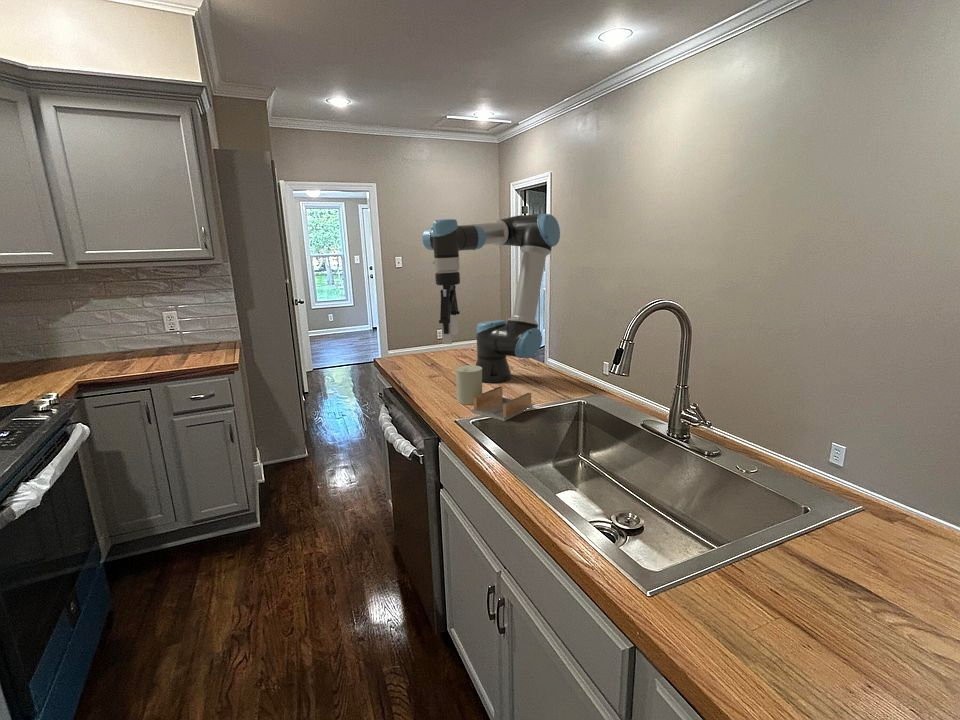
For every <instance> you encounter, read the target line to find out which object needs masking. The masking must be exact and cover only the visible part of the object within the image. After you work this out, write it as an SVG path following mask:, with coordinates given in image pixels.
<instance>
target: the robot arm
mask: <svg viewBox="0 0 960 720" xmlns="http://www.w3.org/2000/svg"><path fill="white" fill-rule="evenodd" d="M560 237H561V227H560V225H559V222H558V220H557V218H556V217H555V216H554V215H552V214H550V213H538V214H523V215H522V214H521V215H515V216H509V217H507V218H506V217H505V218H502V219H501V218H500V219H495V220H493V221H492V222H485V223H475V224H474V223H473V224H472V223H471V224H462V225H458V221H457V220H456V219H453V218H452V219H451V218H448V219H445V218H444V219H435V220H434V221H433V222H432V227H428V228H426V229H424V231H423V233H422V239H421V240H422V244H423V246H424V247H425V248H426V249H427V250H429V251H433V256H434V260H433V261H432V264H433V265H434V270H435V275H434V277H435V284H436V286H442V289H440V315H439V316H440V319H439V320H438V323H439V324H441V333H442V344H443V345H452V344H453V336H454V335H455V336H456V335H459V319H458V315H460V314H461V313H460V312H461V311H460V310H459V308H458V306H459V305H458V298H457V292H456V290H457V289H456V285H460V283H461V277H460V275H461V274H460V272H459V271H460V269H461V268H460V253H459V251H476V250H480V249H482V248H483V247H484V245H486V246H487V245H495V246H509V247H510V246H511V247H512V246H513V247H519V249H520V250H521V252H522V259H521V265H520V271H519V276H518V277H519V278H518V282H517V288H516V294H515V300H514V306H513V312H512V316H510V317H509V318H508V319H507V321H506V320H505V319H496V320H488V321H482V322H479V323H478V324H477V325H476V333H475V334H476V351H477V352H476V354H477V356H476V357H477V358H476V363H475V365H476V366H480V367H482V383H489V384H490V383H503V382H505V381H509V380H510V379H511V377H512V373H511V370H510V366H509V363H508V359H507V356H508V357H512V358H513V357H515V358H519V359H532V358H533V357H535V355H537V354H538V353H539V351H540V349H541V346H542V343H543V335H542V334H543V333H542V332H541V330H540V329H539V324H538V322H537V320H536V318H537V317H536V316H537V309H538V304H539V299H540V293H541V287H542V281H543V274H544V268H545V264H546V263H545V262H546V258H547V256H549V255H550V254H551V252H552V247H555V246H557V245H558V243H559V241H560ZM452 335H453V336H452Z"/></svg>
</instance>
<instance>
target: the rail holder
mask: <svg viewBox="0 0 960 720" xmlns="http://www.w3.org/2000/svg"><path fill="white" fill-rule="evenodd" d="M503 392H504V391H503V386H498V387H495V388H493V389H490V390H488V391H486V392H482V394H480V395H478V396H475V397H474V404H473V409H471V413H472V414H476V415H479V414H481V415H480V416H483V415H486V416H485V417H487V416H490V417H491V419H494V420H499V421H503V422H506V421H508V420H509V419H510V420H511V418H515V417H516V416H518V415H519V414H522V413H524V412H525V411H524V410H526V409H527V408H530V407H532V406H533V407H534V404H533V403H532V393H531V392H527V393H525V394H522V395H519V396H518V397H515V398H513V399H512V398H507V397H503V396H504V395H503ZM533 407H532V408H533ZM530 409H531V408H530ZM523 411H524V412H523ZM526 411H527V410H526ZM490 417H489V418H490Z"/></svg>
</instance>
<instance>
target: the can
mask: <svg viewBox="0 0 960 720" xmlns="http://www.w3.org/2000/svg"><path fill="white" fill-rule="evenodd" d="M455 374H456V375H455V377H456V379H455V380H456V402H457V403H458V404H460V405H469V406H470V405H471V406H472V405H473V406H474V397H475V396H478V395H480V394H482V393H483V382H482V367H480V366H476V364H475V365H473V364H465V365H460V366H457V367H456V368H455Z"/></svg>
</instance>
